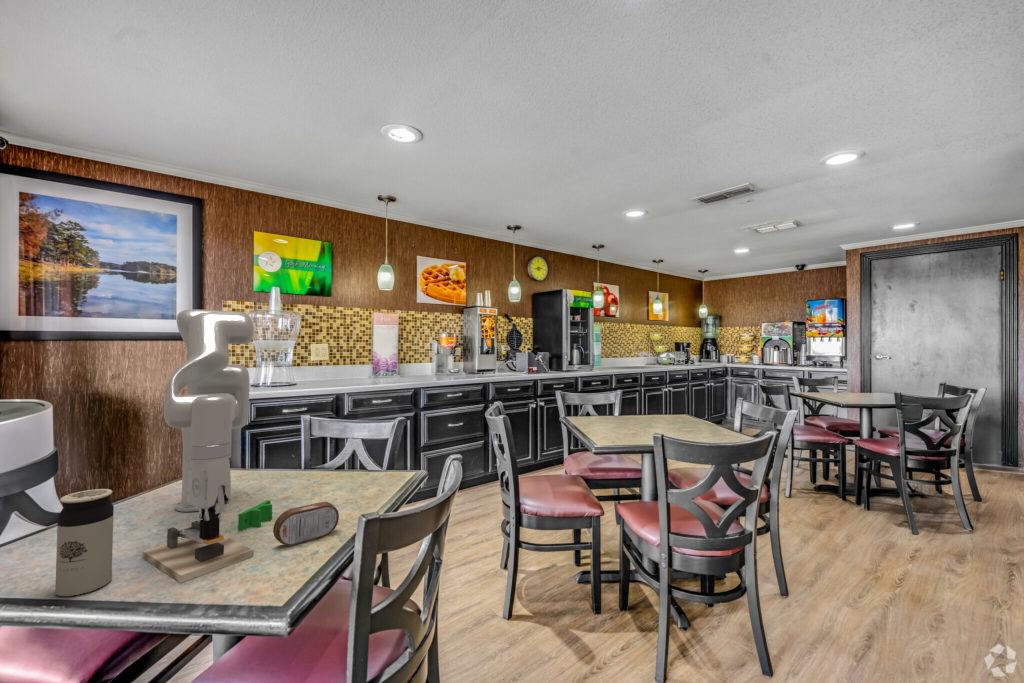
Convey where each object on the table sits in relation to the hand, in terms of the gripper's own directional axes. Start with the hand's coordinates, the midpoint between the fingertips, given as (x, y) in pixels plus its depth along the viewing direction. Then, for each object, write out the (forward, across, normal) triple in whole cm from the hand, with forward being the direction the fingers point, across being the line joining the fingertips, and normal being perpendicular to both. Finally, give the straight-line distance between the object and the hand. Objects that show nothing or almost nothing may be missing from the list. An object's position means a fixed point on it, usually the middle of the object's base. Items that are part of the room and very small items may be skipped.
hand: (209, 537), depth 97 cm
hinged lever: (+1, -5, 0) cm, 5 cm away
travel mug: (+6, -10, -18) cm, 21 cm away
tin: (+6, +6, +19) cm, 21 cm away
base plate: (+6, -6, 0) cm, 8 cm away
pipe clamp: (+5, -15, +18) cm, 24 cm away
